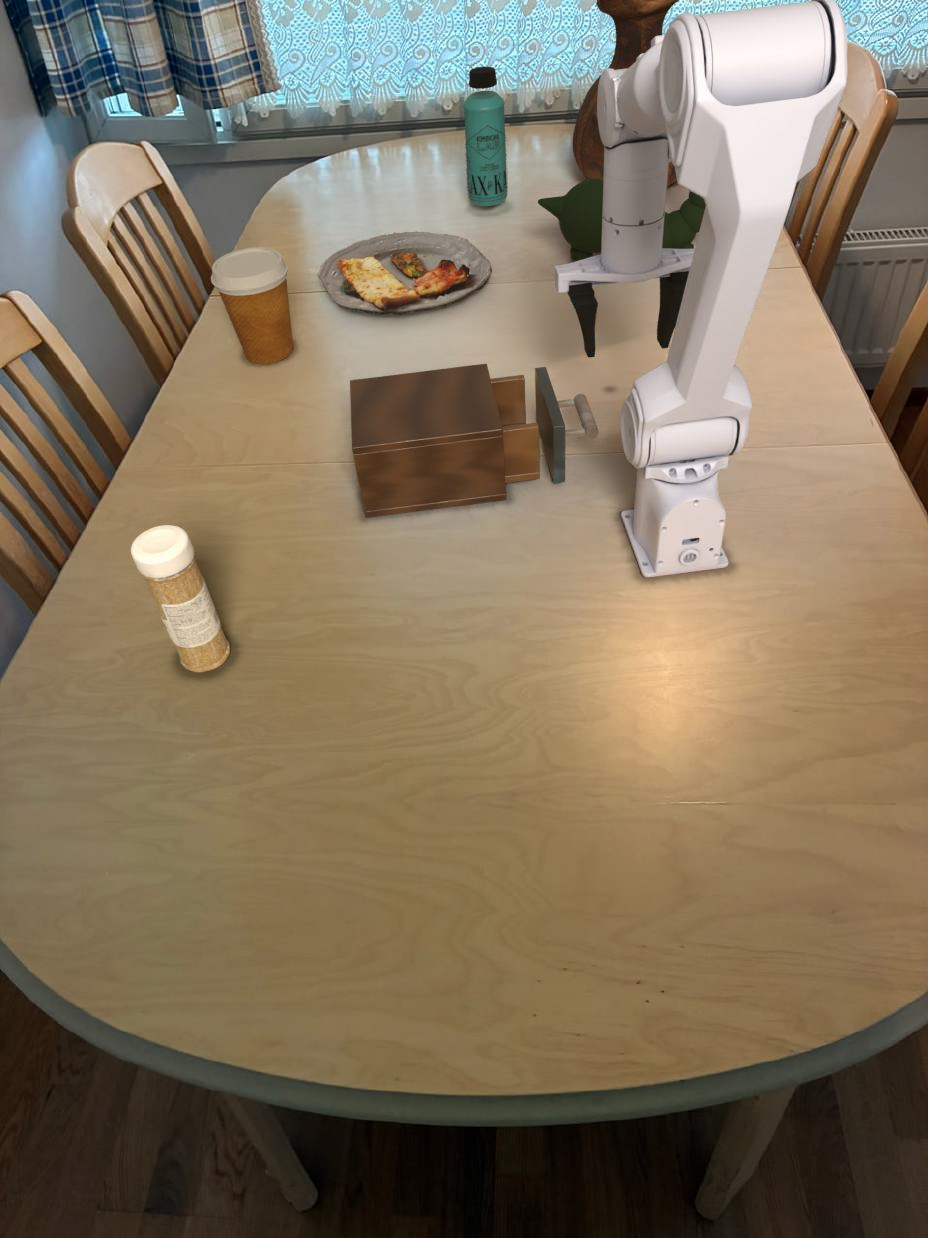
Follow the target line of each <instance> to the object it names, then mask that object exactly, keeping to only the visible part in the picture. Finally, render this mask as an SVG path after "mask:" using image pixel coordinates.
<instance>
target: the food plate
mask: <svg viewBox="0 0 928 1238" xmlns="http://www.w3.org/2000/svg"><path fill="white" fill-rule="evenodd" d="M491 263H492V262H490V260H489V259H488V258H487V257H486V256H485V255H484V254H483V253H482V252H481V251H480V250H479V248H477V247H476V246H475V245H474V244H473V243H472V242H470V240H468V238H464V237H461V236H460V235H452V234H448V233H444V234H442V233H436V232H435V233H434V232H430V231H429V232H428V231H404V232H395V231H394V232H392V233H390V232H389V233H386V234H385V233H384V234H381V235H377V236H373V237H370V238H367V239H363V240H358V241H356V242H353V243H352V244H350V245H348V246H346V247H343V248H341V249H339V250H337V251H336V252H334V253H333V254H331V255H330V256H328V258H326V259H325V260H324V261H323V263H321V265H320V268H319V271H318V272H317V276H318V278H319V280H320V281H321V283H322V286H323V287H324V289H325V290H326V292H328V294H329V296H330V297H331V299H332V300H333V302H335V303H336V304H337V305H339V306H340V307H341V308H345V309H346V310H349V311H355V312H361V313H362V312H363V313H367V314H374V315H391V314H392V315H400V316H401V315H404V314H405V315H406V314H409V313H414V312H416V313H417V312H419V311H426V310H430V309H431V310H432V309H434V308H441V307H445V308H446V307H447V306H449V305H452V304H453V305H454V304H455V303H458V302H460V301H462V300H464V299H465V298H467V297H468V296H469V295H471V294H472V293H474V292H476V291H479V290H482V289H483V287H484V286H485V285H486V284H487V283H489V280H490V278H491V273H492V272H493V268H492V264H491Z"/></svg>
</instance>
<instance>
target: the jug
mask: <svg viewBox="0 0 928 1238" xmlns="http://www.w3.org/2000/svg"><path fill="white" fill-rule="evenodd" d="M679 1H680V0H596V2H595V4H596V7H597V9H598V10H599V11H600V12H601V13H603V14H605V15H608V16H609V17H610V18H611V19H612V20H613V24H614V29H615V45H614V53H613V56H612V59H611V62H610V64H609V66H608V67H607V68H611V69H614V70H619V69H627V68H629V67H630V66H631V65H633V64H634V63H635V62H636V59H637V57H638V56H639V55H640V54H643V53H646V52H647V51H648V50H649V49H650V48H651V40H652V39H653V38H654V37H656V36H660V35H663V27H664V22H665V19H666V16H667V14H668V12H669V11H670V9H671V8H672V7H673V6H674V5H675V4H676V3H678V2H679ZM601 75H602V73H601V74H600V75H599V76H598V77H597V78H596V79H595V81H594V82H593V83H592V84H591V86H590V88H589V89H588V91H587V93H586V94H585V97H584V99H583V101H582V103H581V106H580V108H579V111H578V113H577V116H576V120H575V124H574V125H575V126H574V128H573V133H572V152H573V157H574V160H575V163H576V166H577V168H578V170H579V172H580V174H581V175H582V176H583V177H585V178H586V179H587V180H589V179H601V180H603V179H604V147H605V146H604V145H603V143H602V140H601V137H600V133H599V126H598V117H597V96H598V86H599V80H600V77H601ZM676 182H677V178H676V172H675V166H674V165H673V164H672V161H671V162H670V163H669V165H668V178H667V187H668V186H671V185H672V184H675V183H676Z"/></svg>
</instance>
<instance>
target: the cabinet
mask: <svg viewBox="0 0 928 1238" xmlns="http://www.w3.org/2000/svg"><path fill="white" fill-rule="evenodd" d="M491 379H492V378H491V375H490V371H489V367H488V363H479V364H471V365H463V366H455V367H447V368H438V369H430V370H424V371H414V372H406V373H398V374H389V375H382V376H375V377H366V378H359V379H358V378H357V379H351V380H349V395H350V398H349V399H350V432H351V433H350V435H351V437H350V438H351V450H352V451H351V452H352V456H353V462H354V466H355V472H356V476H357V482H358V488H359V491H360V497H361V502H362V507H363V512H364V516H365V518H366V519H367V518H374V517H383V516H390V515H399V514H407V513H415V512H422V511H423V512H424V511H430V510H438V509H445V508H452V507H454V508H455V507H461V506H462V507H463V506H469V505H477V504H486V503H493V502H494V503H495V502H500V501H507V500H508V499H507V483H506V479H505V461H504V443H503V428H502V424H501V420H500V416H499V412H498V408H497V404H496V399H495V395H494V391H493V387H492V383H491Z"/></svg>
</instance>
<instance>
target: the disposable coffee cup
mask: <svg viewBox="0 0 928 1238" xmlns="http://www.w3.org/2000/svg"><path fill="white" fill-rule="evenodd" d="M288 272H289V265H288V262H286V261H285V260H284V257H283V256H282V254H281V253H280V252H279V251H278V250H275V249H273V248H268V247H259V246H258V247H257V246H256V247H246V248H241V249H238V250H237V249H236V250H235V251H231V252H228V253H226V254H223V255H222V256H220V257H219V258H217V259H216V260H215V261H214V263H213V264H212V266H211V276H210V282H211V284H212V285H213V286H214V287H215V289H216V290H217V291H218V293H219V296H220V298H221V301H222V304H223V305H224V307H225V310H226V313H227V315H228V318H229V320H230V322H231V324H232V326H233V327H232V328H233V330H234V332H235V334H236V336H237V338H238V341H239V343H240V345H241V348H242V351H243V353H244V355H245V358H246V359H247V360H248V361H249V362H251V363H253V364H259V365H266V364H268V365H269V364H274V363H277V362H280V361H282V360H284V359H286V358H288V357H289V356H290V355H291V354H292V353H293V352H294V342H293V331H292V320H291V310H290V301H289V291H288V281H287V276H288Z"/></svg>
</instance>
